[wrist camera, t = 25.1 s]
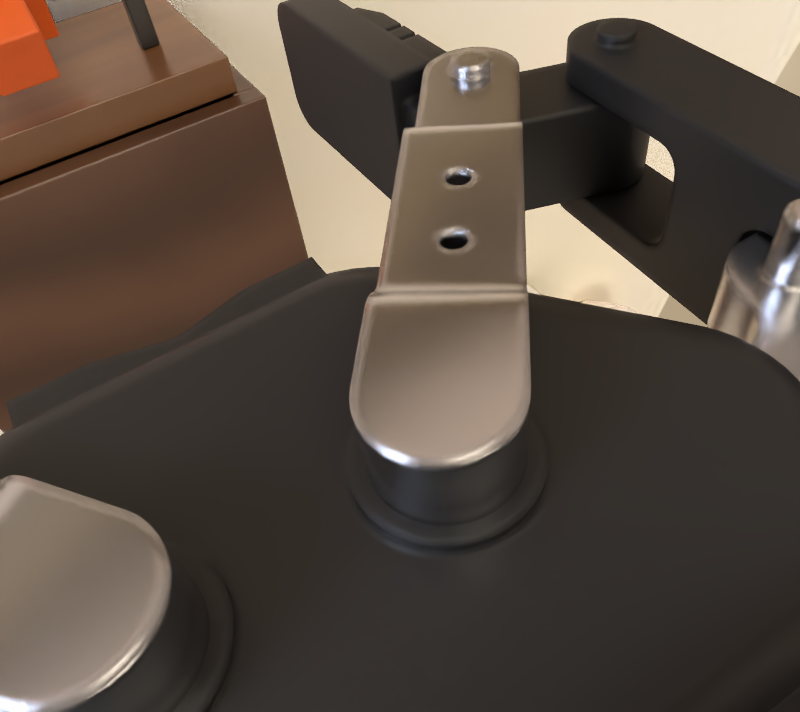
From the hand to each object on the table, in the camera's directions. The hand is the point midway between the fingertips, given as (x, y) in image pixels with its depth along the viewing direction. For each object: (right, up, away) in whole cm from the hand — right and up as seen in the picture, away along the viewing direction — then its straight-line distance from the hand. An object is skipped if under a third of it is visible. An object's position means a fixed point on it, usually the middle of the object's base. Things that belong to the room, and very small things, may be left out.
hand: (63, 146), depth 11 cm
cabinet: (-8, +3, +21) cm, 23 cm away
